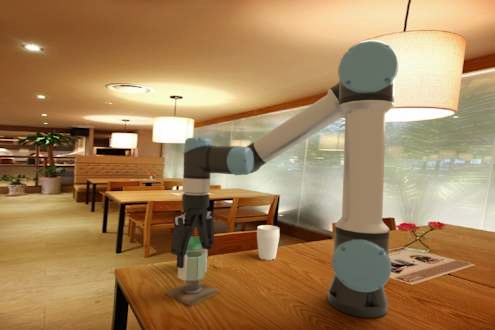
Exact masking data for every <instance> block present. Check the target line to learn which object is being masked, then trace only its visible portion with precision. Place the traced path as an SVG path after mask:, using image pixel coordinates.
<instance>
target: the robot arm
mask: <svg viewBox="0 0 495 330" xmlns="http://www.w3.org/2000/svg"><path fill="white" fill-rule="evenodd" d="M398 72H399V58H398V55H397V53H396V51H395V50H394V49H393V47H391V46H390V45H388V44H387V43H385V42H383V41H380V40H377V39H376V40H375V39H374V40H373V39H371V40H364V41H360V42H357V43H356V44H354V45H352V46H351V47H350V48H349V49H347V51H345V52H344V54H343V56H342V57H341V59H340V62H339V65H338V69H337V74H338V78H339V81H338V82H337V83H336V84H335V85H333V86H332V87H330V88H328V90H327V91H328V92H327V93H326V95H325V96H323V97H322V98H320V99H319V100H317V101H316V102H314V103H312V104H311V105H309V106H307V107H306V108H304V109H302V110H301V111H299V112H297V114H295V115H293V116H292V117H289V118H288V119H287V120H286V121H284V122H283V123H280V124H279V125H278V126H276V127H274V128H273V129H272V130H270V131H269V132H266V133H265V134H264V135H262V136H260V137H259V138H258V139H256V140H255V141H253V142H251V143H250V144H247V146H241V145H234V146H232V145H228V146H227V145H226V146H224V145H213V143H212V140H211V139H210V138H206V137H188V138H186V139H185V141H184V147H183V148H184V150H183V153H182V154H183V175H182V176H183V177H182V192H183V193H182V196H181V207H182V208H183V211H182V213H181V215H179V216H173V218H172V220H173V230H172V231H173V233H172V238H171V239H172V241H171V247H170V254H172V255H174V256H176V268H177V279H180V280H182V281H184V282H185V281H187V258H188V256H187V255H185V253H186V250H187V247H188V244H189V240H190V237H192V233H193V232H194V230H195V228H196V230H197V235H198V237H199V238H200V242H201V246H202V248H199V251H202V252H205V253H206V258H205V273H207V271H208V259H209V251H210V250H211V249H213V245H215V232H214V231H215V230H214V229H215V228H214V220H215V219H214V218H215V212H213V211H210V210H209V211H208V208H209V207H210V194H209V193H210V191H211V190H210V189H211V174H224V175H234V176H247V175H249V174H253V173H256V172H257V171H259V170H260V169H261V168H262V166H264V165H265V164H267V163H269V162H270V161H272V160H273V159H275V158H276V157H278V156H280V155H282V154H283V153H285V152H287V151H288V150H290V149H291V148H294V147H295V146H296V145H298V144H300V143H302V142H303V141H305V140H308V138H310V137H311V136H313V135H315V134H317V133H318V132H320V131H322V130H323V129H325V128H327V127H328V126H330V125H332V124H334V123H335V122H337V121H338V120H340V119H344V143H343V144H344V148H343V174H342V175H343V176H342V179H343V180H342V201H341V202H342V205H341V206H342V207H341V208H342V209H341V211H342V212H341V217H340V218H339V219H338V220H337V221H336V222H335V223H334V242H333V243H334V244H333V246H334V247H333V254H332V257H331V264H332V267H333V271H334V272H333V273H334V275H333V278H332V280H331V284H330V285H329V287H328V291H327V293H328V294H327V300H328V302H329V304H330V305H331V306H332V307H333V308H335V310H338V311H339V312H342V313H345V314H348V315H350V316H354V317H360V318H367V319H368V318H370V319H371V318H373V319H374V318H379V317H383V316H384V315H386V314H387V311H388V299H387V295H386V293H385V288H384V286H385V285H386V284H387V283H388V281H389V280H390V276H391V274H392V273H391V272H392V263H391V258H390V228H389V227H388V225H386V223H384V221H383V212H384V211H383V207H384V206H383V205H384V180H385V179H384V178H385V177H384V176H385V153H386V151H385V149H386V146H385V145H386V124H387V123H386V122H387V121H386V120H387V119H386V118H387V113H388V112H389V111H390V110H391V109H392V108H393V107H394V106H395V105H394V104H395V85H396V84H395V83H396V76H397V75H398ZM181 250H182V251H181Z"/></svg>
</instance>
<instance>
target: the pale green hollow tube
mask: <svg viewBox="0 0 495 330" xmlns="http://www.w3.org/2000/svg"><path fill="white" fill-rule="evenodd" d="M185 255H187V256H188V258H187V280H186V282H187V281H194V280H199V281H200V280H201V279H204V278H205V274H206V272H205V258H206V253H205V252H202V251H198V250H189V251H186V253H185Z"/></svg>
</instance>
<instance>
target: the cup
mask: <svg viewBox="0 0 495 330" xmlns="http://www.w3.org/2000/svg"><path fill="white" fill-rule="evenodd" d="M256 240H257V241H256V242H257V250H258V251H257V252H258V258H259V259H260V258H261V260H263V259H265V260H264V261H273V260H272V259H274V260H275V259H276V257H277V253H278V252H277V251H278V249H279V248H278V246H279V241H280V227H278V226H277V225H271V224H270V225H269V224H265V225H264V224H262V225H258V226H257V229H256Z"/></svg>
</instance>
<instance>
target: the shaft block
mask: <svg viewBox="0 0 495 330" xmlns="http://www.w3.org/2000/svg"><path fill="white" fill-rule="evenodd" d="M218 293H219V290H218V289H217V288H216V287H215V288H214V287H212V286H210V285H207V284H204V283H202V282H200V279H199V280H194V281H187V280H186V282H185V283H183V284H180V285H179V286H176V287H173V288H172V289H171V288H170V289H169V290H167V291H166V295H167V296H169V297H171V298H172V299H175V300H176V301H180V302H181V303H184V304H186V305H188V306H190V307H193V306H195V305H197V304H200V303H201V302H203V301H205V300H207V299H209V298H211V297H213V296H215V295H216V294H218Z"/></svg>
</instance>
